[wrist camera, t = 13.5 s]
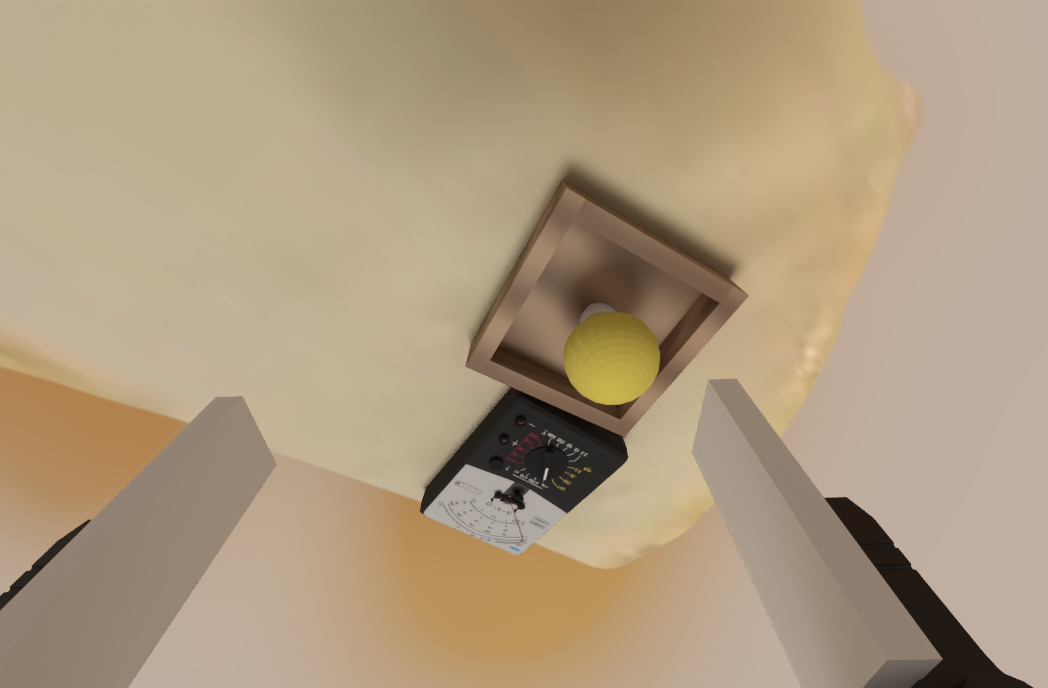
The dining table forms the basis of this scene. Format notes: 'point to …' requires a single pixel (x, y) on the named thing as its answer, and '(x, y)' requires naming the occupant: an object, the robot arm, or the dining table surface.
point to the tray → (597, 277)
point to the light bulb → (611, 356)
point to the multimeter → (522, 472)
